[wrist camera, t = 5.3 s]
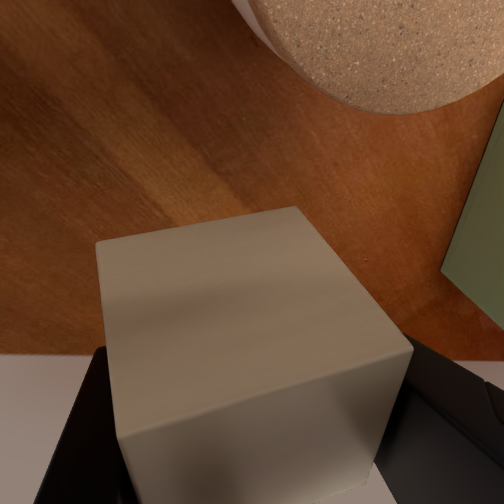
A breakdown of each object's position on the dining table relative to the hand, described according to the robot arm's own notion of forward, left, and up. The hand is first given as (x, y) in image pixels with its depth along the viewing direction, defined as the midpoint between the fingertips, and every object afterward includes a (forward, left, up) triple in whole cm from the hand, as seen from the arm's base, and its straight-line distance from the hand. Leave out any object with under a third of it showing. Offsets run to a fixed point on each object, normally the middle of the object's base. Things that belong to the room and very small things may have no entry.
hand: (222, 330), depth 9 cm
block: (0, 0, -1) cm, 1 cm away
